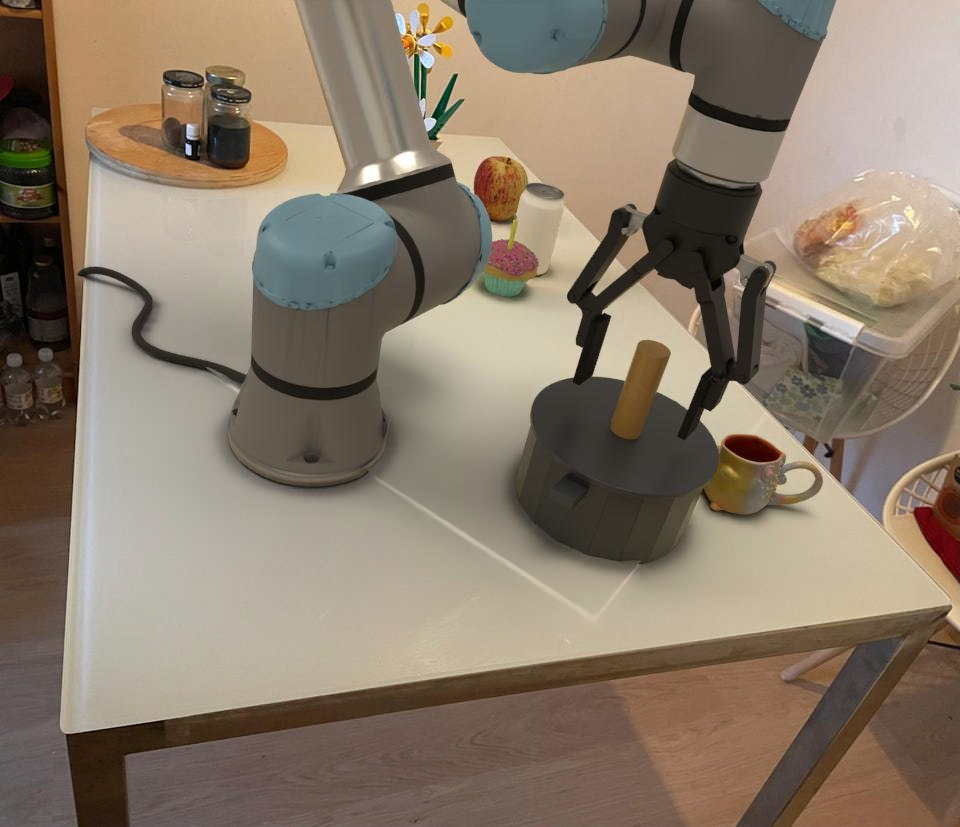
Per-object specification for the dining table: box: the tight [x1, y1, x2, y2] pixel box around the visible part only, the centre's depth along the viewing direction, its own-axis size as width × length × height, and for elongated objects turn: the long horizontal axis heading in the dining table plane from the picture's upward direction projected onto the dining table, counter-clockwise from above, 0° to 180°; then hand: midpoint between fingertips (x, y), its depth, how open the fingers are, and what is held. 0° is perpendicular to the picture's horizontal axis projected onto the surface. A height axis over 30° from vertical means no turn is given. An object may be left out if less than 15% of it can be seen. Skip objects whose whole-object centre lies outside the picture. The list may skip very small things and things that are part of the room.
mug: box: [703, 433, 824, 516], centre depth 87 cm, size 12×7×7 cm, turn 84°
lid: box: [529, 339, 719, 499], centre depth 77 cm, size 18×18×10 cm
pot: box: [514, 401, 704, 565], centre depth 82 cm, size 17×22×8 cm
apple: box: [473, 155, 529, 222], centre depth 137 cm, size 9×9×10 cm
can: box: [514, 182, 565, 277], centre depth 123 cm, size 6×6×12 cm
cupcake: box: [483, 214, 539, 297], centre depth 115 cm, size 9×8×12 cm
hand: (633, 404), depth 77 cm, fingers open, 10 cm apart
